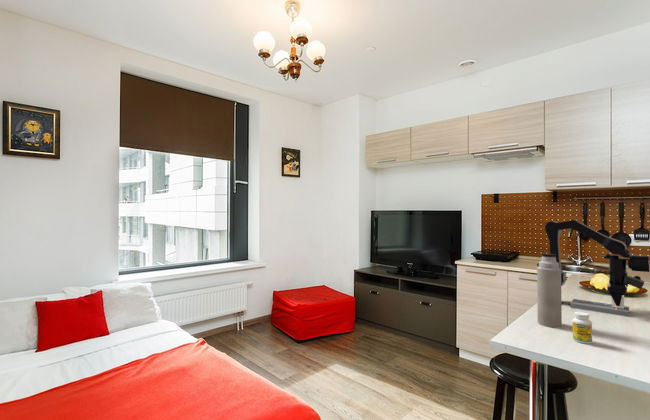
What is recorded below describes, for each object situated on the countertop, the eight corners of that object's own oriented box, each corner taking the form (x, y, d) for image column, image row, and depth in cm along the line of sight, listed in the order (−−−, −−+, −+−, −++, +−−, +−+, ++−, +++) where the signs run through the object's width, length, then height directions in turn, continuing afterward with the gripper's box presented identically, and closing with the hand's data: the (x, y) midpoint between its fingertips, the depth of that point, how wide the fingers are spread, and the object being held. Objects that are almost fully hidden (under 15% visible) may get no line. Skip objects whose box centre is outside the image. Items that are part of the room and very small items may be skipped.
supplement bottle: (588, 339, 117) (588, 312, 117) (594, 345, 112) (594, 316, 112) (570, 337, 119) (570, 310, 119) (575, 342, 114) (575, 314, 114)
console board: (570, 307, 155) (570, 302, 155) (573, 303, 163) (573, 298, 163) (628, 316, 142) (628, 311, 142) (629, 311, 149) (629, 306, 149)
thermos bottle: (539, 319, 139) (539, 252, 139) (563, 323, 133) (562, 253, 133) (535, 324, 133) (534, 254, 133) (559, 329, 127) (559, 255, 128)
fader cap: (611, 306, 148) (611, 295, 148) (612, 305, 150) (612, 293, 150) (623, 308, 145) (623, 296, 145) (624, 306, 148) (624, 294, 148)
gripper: (642, 274, 135) (643, 313, 135) (642, 268, 149) (643, 303, 149) (606, 271, 143) (607, 308, 143) (610, 266, 156) (610, 299, 156)
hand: (618, 304), depth 148 cm, fingers closed on fader cap, 4 cm apart
